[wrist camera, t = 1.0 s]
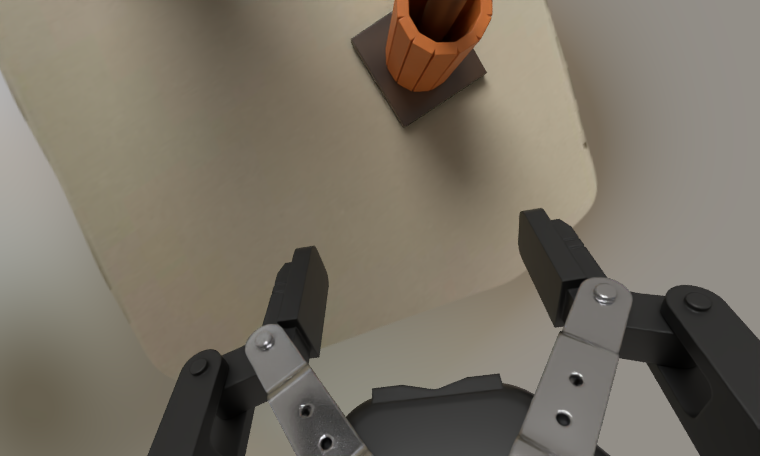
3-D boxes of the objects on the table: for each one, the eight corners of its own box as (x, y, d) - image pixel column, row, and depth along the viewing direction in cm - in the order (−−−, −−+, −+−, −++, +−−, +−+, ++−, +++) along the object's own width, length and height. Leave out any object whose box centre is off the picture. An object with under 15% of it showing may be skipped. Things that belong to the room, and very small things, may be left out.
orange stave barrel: (372, 44, 32) (377, -15, 22) (430, 5, 31) (461, -71, 22) (409, 104, 32) (429, 73, 23) (466, 67, 32) (510, 20, 23)
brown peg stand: (350, 42, 32) (343, -77, 17) (434, -14, 32) (498, -182, 17) (403, 128, 33) (438, 85, 19) (484, 75, 33) (584, -11, 18)
